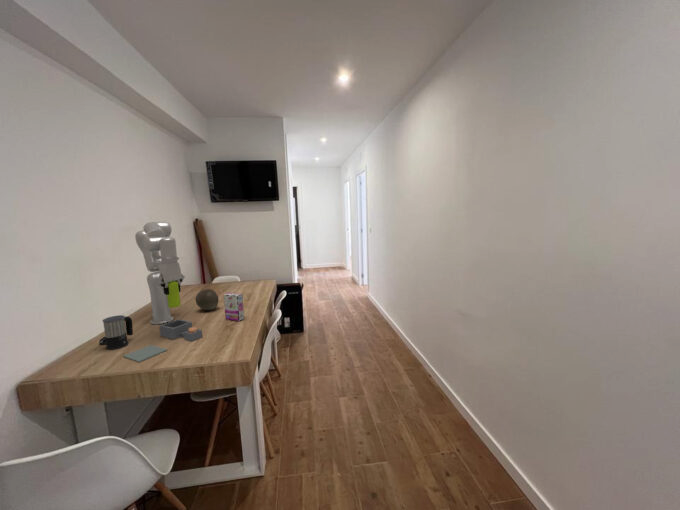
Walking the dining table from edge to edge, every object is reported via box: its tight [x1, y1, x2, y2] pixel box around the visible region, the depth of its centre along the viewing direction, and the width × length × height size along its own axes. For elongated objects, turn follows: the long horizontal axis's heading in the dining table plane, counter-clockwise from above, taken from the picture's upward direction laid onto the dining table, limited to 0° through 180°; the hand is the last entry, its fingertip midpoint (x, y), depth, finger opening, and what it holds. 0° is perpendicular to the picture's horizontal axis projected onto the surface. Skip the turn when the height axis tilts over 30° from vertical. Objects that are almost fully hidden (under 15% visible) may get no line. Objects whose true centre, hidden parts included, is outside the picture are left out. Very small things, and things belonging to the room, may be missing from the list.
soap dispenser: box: [167, 279, 182, 309], centre depth 161 cm, size 6×7×20 cm
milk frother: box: [98, 314, 134, 351], centre depth 152 cm, size 14×16×15 cm
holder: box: [159, 318, 203, 342], centre depth 162 cm, size 23×11×6 cm, turn 63°
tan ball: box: [188, 326, 198, 333], centre depth 158 cm, size 4×4×3 cm
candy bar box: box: [223, 292, 245, 322], centre depth 186 cm, size 11×5×16 cm, turn 68°
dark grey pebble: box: [195, 288, 219, 311], centre depth 206 cm, size 14×14×15 cm
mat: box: [122, 344, 168, 363], centre depth 141 cm, size 13×13×1 cm
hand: (172, 292), depth 162 cm, fingers closed on soap dispenser, 5 cm apart
